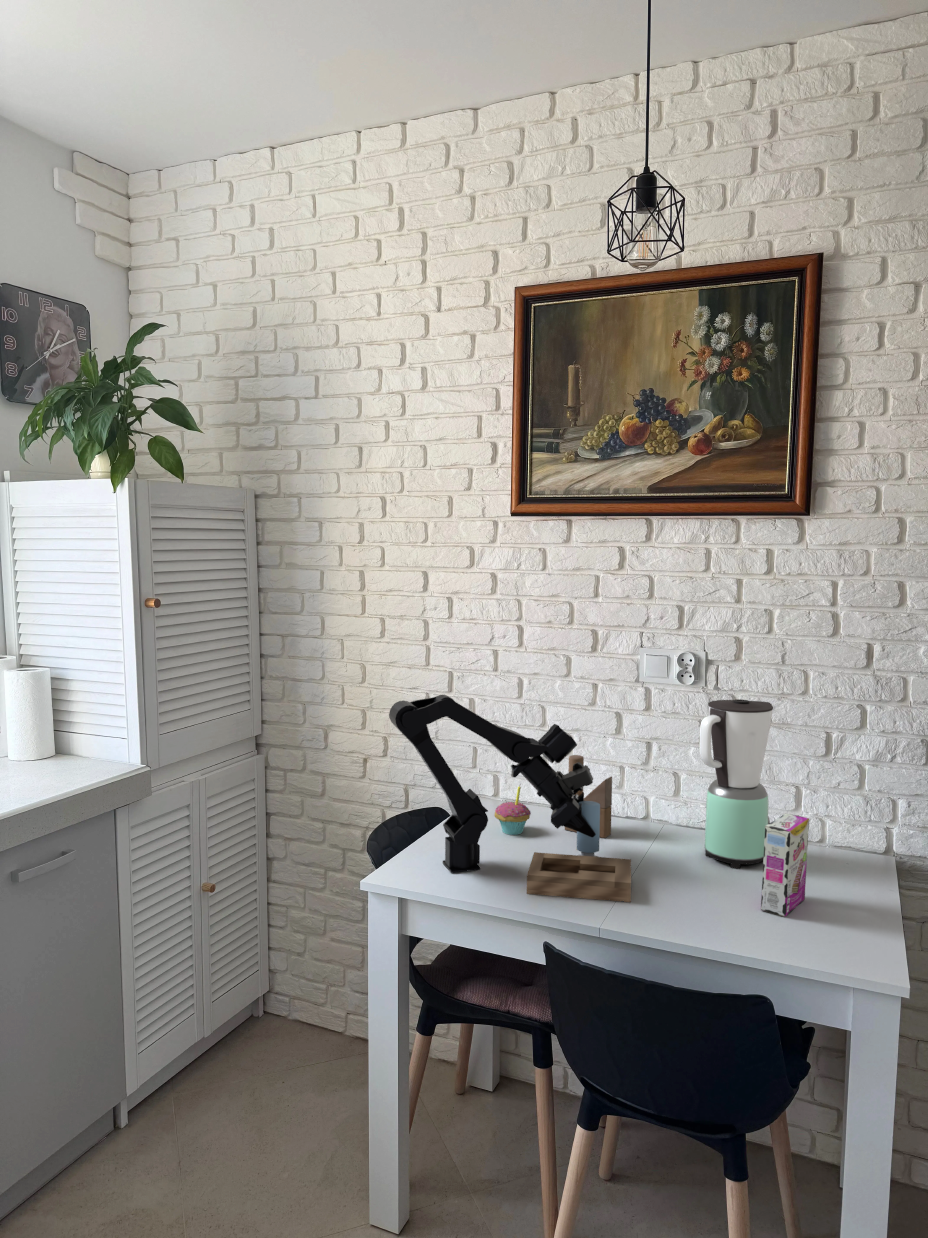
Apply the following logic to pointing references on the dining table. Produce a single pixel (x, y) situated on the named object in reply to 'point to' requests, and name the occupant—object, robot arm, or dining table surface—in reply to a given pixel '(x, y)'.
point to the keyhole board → (576, 889)
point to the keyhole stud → (593, 817)
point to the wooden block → (597, 799)
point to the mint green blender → (736, 780)
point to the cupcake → (512, 816)
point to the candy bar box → (784, 864)
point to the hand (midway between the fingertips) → (594, 832)
